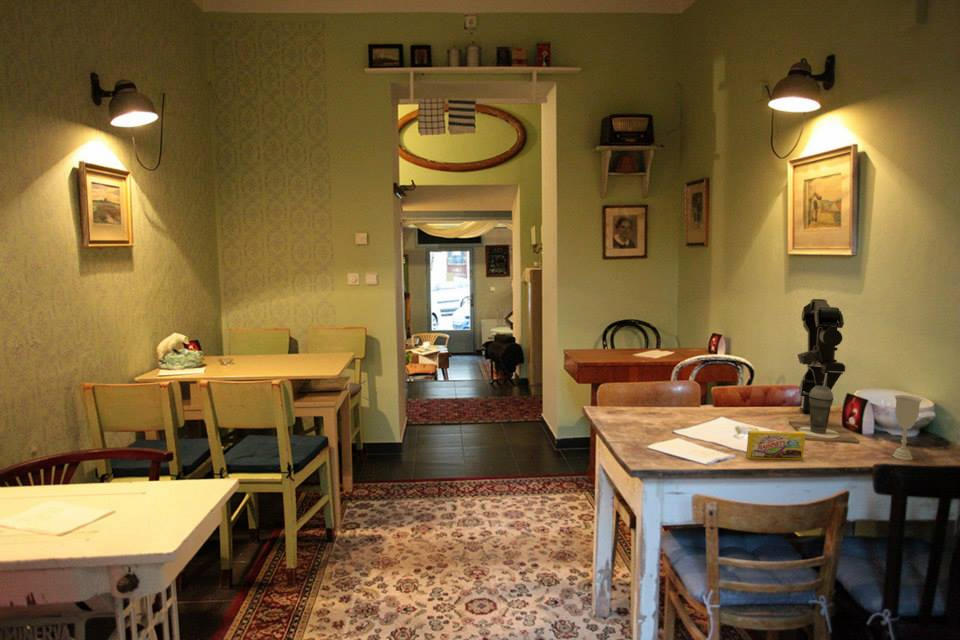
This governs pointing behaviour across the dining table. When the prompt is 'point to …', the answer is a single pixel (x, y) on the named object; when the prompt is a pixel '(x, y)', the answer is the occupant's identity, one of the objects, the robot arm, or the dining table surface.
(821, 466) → the dining table surface
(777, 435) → the candy box
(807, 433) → the walnut board
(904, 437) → the chalice
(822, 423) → the beverage cup
